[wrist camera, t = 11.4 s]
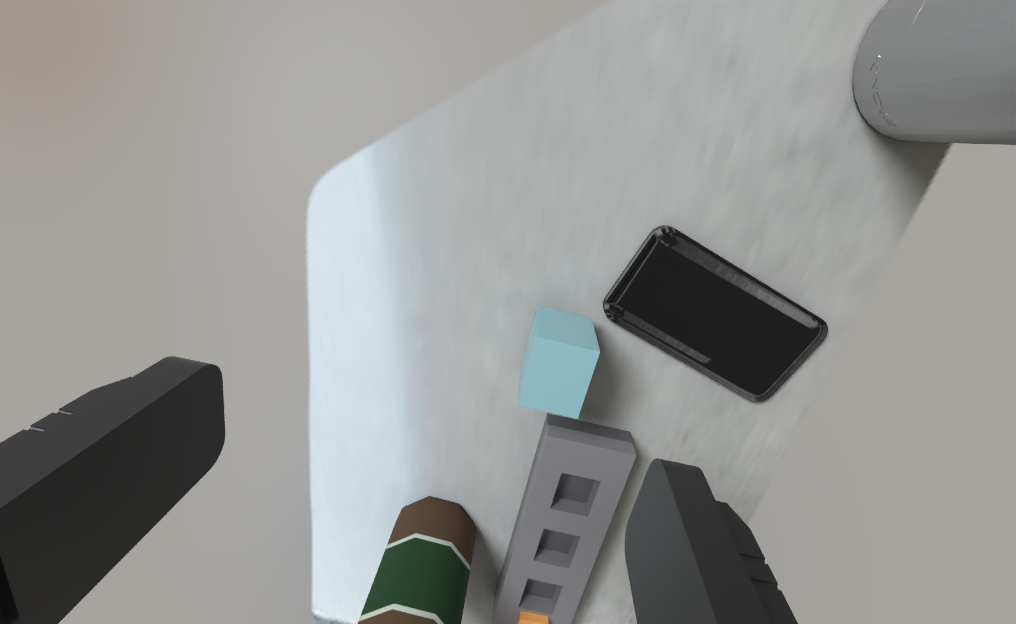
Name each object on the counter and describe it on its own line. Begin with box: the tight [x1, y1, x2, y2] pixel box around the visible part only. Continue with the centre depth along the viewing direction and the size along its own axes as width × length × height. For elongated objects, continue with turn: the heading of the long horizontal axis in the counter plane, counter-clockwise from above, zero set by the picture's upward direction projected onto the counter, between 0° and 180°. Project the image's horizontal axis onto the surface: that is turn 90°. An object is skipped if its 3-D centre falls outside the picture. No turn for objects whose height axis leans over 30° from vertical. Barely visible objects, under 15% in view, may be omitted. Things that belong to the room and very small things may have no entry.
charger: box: [518, 305, 600, 419], centre depth 32 cm, size 5×4×7 cm
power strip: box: [492, 414, 637, 624], centre depth 41 cm, size 22×7×4 cm, turn 168°
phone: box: [603, 226, 828, 402], centre depth 34 cm, size 8×1×15 cm
